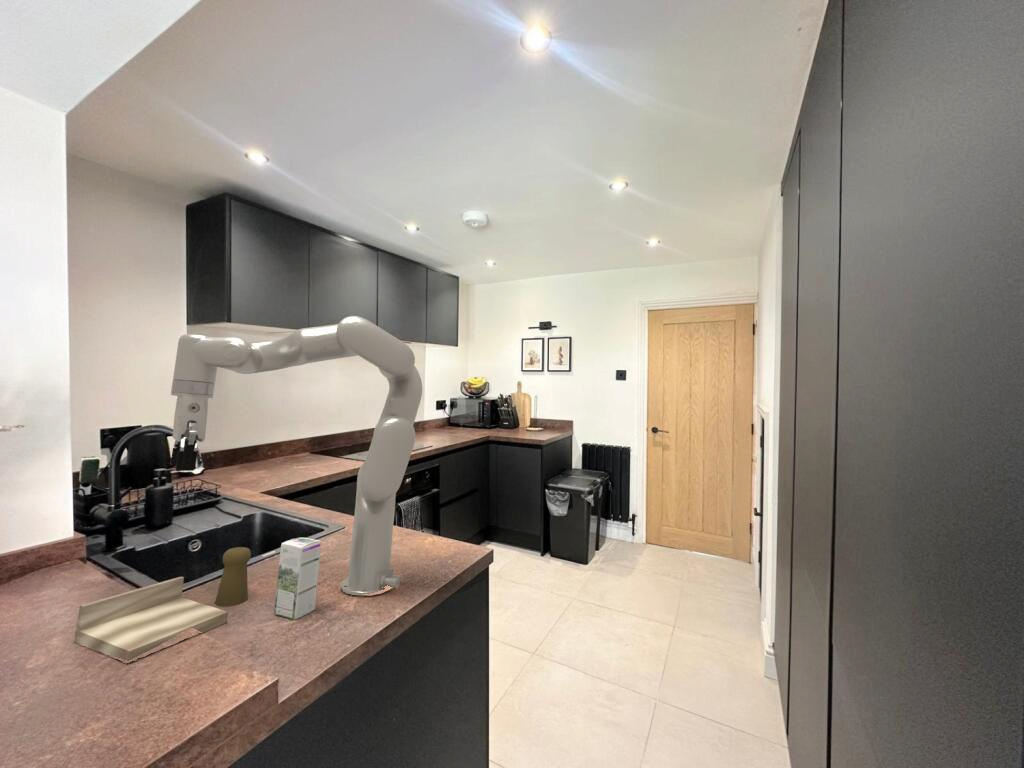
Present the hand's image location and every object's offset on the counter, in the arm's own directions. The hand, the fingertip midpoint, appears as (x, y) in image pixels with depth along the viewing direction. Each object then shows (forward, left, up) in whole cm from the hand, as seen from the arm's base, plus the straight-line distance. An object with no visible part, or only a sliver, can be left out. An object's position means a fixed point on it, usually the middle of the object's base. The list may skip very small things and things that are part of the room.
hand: (182, 468), depth 90 cm
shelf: (-12, +8, -28) cm, 32 cm away
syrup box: (-27, -9, -28) cm, 40 cm away
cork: (-11, -7, -28) cm, 31 cm away
